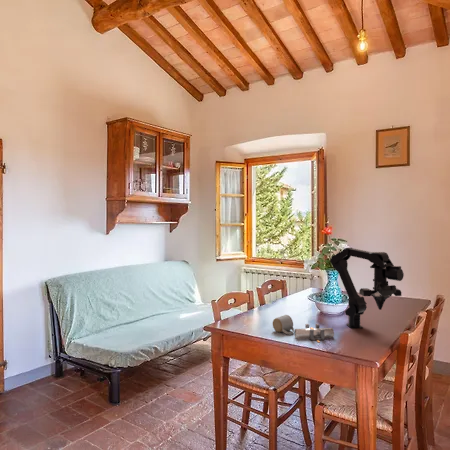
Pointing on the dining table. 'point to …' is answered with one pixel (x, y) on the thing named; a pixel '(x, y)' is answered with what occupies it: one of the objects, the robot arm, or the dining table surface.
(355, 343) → the dining table surface
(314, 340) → the collar rig
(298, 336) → the tube
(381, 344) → the dining table surface
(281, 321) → the ceramic mug
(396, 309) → the dining table surface
